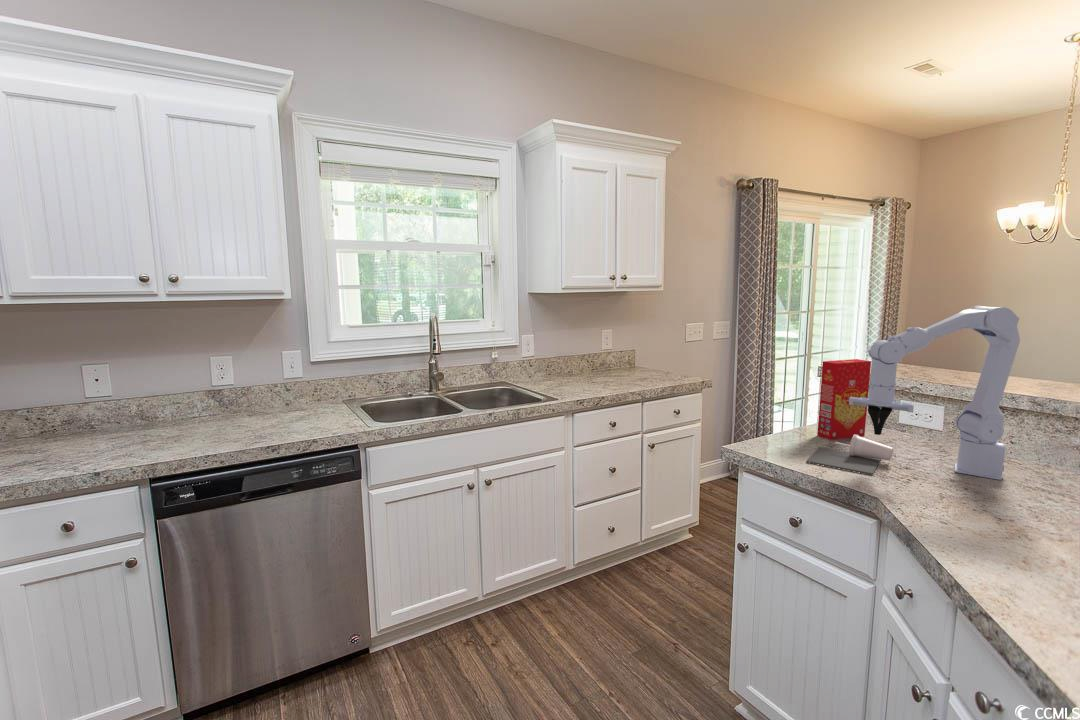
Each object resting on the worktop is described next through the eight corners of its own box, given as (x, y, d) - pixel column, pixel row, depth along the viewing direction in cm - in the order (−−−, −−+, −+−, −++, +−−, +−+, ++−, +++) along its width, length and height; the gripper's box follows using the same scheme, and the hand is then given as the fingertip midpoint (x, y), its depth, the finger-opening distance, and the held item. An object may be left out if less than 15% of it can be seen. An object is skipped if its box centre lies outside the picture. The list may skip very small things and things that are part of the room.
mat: (880, 459, 149) (881, 457, 149) (872, 475, 137) (872, 473, 137) (819, 448, 159) (819, 446, 159) (806, 462, 147) (806, 460, 147)
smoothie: (890, 465, 147) (835, 451, 156) (895, 442, 146) (840, 430, 156) (887, 465, 142) (830, 451, 151) (892, 442, 142) (835, 429, 151)
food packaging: (830, 439, 168) (836, 363, 164) (817, 435, 173) (822, 361, 169) (864, 435, 173) (871, 361, 169) (850, 431, 178) (856, 359, 174)
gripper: (848, 384, 141) (844, 432, 143) (914, 390, 132) (908, 442, 134) (853, 380, 147) (849, 426, 149) (916, 386, 137) (911, 436, 139)
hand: (877, 433), depth 142 cm, fingers closed
